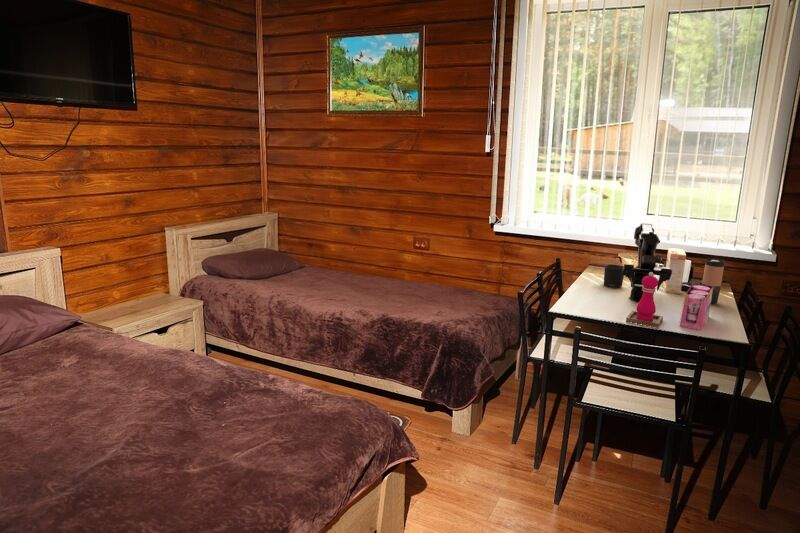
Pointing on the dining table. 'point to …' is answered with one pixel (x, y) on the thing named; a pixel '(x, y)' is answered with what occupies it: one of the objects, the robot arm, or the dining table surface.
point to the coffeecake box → (675, 270)
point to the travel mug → (713, 276)
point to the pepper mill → (647, 298)
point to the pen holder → (613, 276)
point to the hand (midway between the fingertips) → (645, 289)
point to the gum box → (696, 306)
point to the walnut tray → (633, 315)
